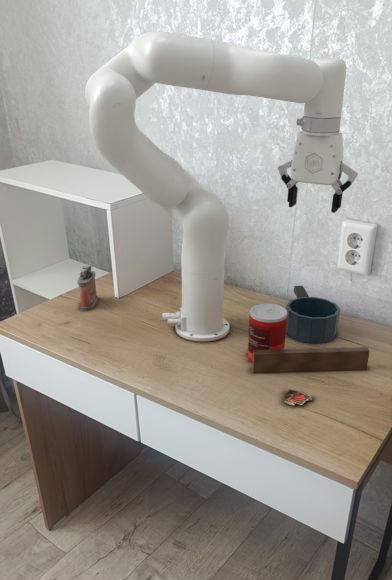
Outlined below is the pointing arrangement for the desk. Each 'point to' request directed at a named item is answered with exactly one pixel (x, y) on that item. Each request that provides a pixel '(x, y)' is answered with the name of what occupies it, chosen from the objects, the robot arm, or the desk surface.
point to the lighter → (87, 288)
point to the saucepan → (311, 318)
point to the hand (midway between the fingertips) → (313, 208)
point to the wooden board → (310, 359)
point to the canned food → (266, 328)
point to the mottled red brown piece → (296, 397)
